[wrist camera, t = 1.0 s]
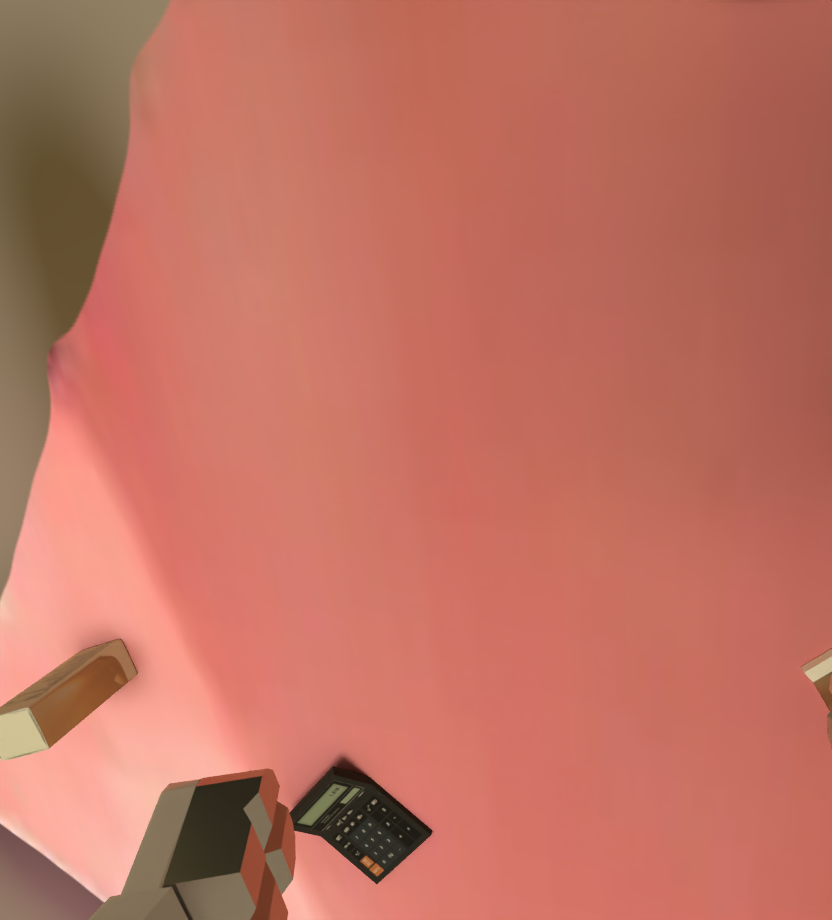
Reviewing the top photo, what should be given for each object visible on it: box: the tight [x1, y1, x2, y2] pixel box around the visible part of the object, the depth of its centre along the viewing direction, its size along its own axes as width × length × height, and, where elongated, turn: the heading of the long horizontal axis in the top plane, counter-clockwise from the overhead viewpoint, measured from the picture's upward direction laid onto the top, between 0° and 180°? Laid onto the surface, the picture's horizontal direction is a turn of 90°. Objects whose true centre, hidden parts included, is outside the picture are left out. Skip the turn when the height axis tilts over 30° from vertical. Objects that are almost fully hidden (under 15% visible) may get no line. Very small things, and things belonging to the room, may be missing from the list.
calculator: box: [290, 766, 432, 884], centre depth 63 cm, size 9×12×3 cm
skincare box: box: [0, 639, 137, 761], centre depth 62 cm, size 6×4×12 cm
